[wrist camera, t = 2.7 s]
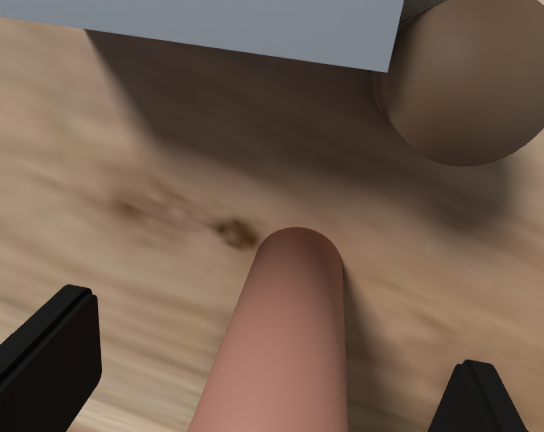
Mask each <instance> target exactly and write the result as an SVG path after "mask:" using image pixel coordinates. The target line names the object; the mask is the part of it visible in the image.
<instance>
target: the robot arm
mask: <svg viewBox="0 0 544 432" xmlns="http://www.w3.org/2000/svg"><path fill="white" fill-rule="evenodd" d="M101 374H102V362H101V347H100V331H99V316H98V300H97V296H96V295H92V291H91V289H89V288H86V287H80V286H75V285H70V284H68V285H65V286H64V287H63V288H62V289H60V290H59V291H58V292H57V293H56V294H55V295H54V296H53V297H52V298H51V299H50V300H49V301H48V302H46V303H45V304H44V305H43V306H42V307H41V308H40V309H39V310H38V311H37V312H36V313H35V314H33V315H32V316H31V317H30V318H29V319H28V320H27V321H26V322H25V323H24V324H23V325H22V326H20V327H19V328H18V329H17V330H16V331H15V332H14V333H13V334H11V335H10V336H9V337H8V338H7V339H6V340H5V341H4V342H3V343H2V344H0V432H66V431H67V429H68V428H69V426H70V425H71V423H72V422H73V420H74V419H75V417H76V416H77V414H78V413H79V411H80V410H81V409H82V407H83V406H84V404H85V403H86V401H87V400H88V398H89V397H90V395H91V394H92V392H93V391H94V389H95V388H96V386H97V385H98V383H99V381H100V378H101ZM428 432H529V431H527V430H526V428H525V426H524V424H523V422H522V420H521V418H520V416H519V414H518V412H517V410H516V408H515V406H514V404H513V402H512V400H511V398H510V396H509V394H508V392H507V391H506V389H505V387H504V385H503V383H502V381H501V379H500V377H499V375H498V373H497V371H496V369H495V368H494V366H493V365H492V364H489V363H484V362H479V361H474V360H465V361H464V362H463V364H457V365H456V366H455V368H454V370H453V373H452V375H451V378H450V380H449V382H448V385H447V387H446V389H445V392H444V394H443V397H442V399H441V401H440V404H439V406H438V408H437V411H436V413H435V416H434V418H433V420H432V423H431V425H430V427H429V430H428Z"/></svg>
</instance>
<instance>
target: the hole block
mask: <svg viewBox="0 0 544 432" xmlns="http://www.w3.org/2000/svg"><path fill="white" fill-rule="evenodd" d="M403 2H404V0H0V17H6V18H13V19H20V20H27V21H34V22H40V23H47V24H54V25H61V26H68V27H75V28H82V29H89V30H96V31H103V32H110V33H116V34H123V35H130V36H137V37H144V38H151V39H158V40H165V41H172V42H179V43H186V44H193V45H199V46H206V47H213V48H220V49H227V50H234V51H241V52H248V53H255V54H262V55H269V56H276V57H282V58H289V59H296V60H303V61H310V62H317V63H324V64H331V65H338V66H345V67H352V68H359V69H365V70H372V71H379V72H386V73H387V72H388V68H389V63H390V59H391V55H392V50H393V46H394V42H395V37H396V33H397V29H398V24H399V20H400V16H401V11H402V7H403Z"/></svg>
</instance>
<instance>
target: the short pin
mask: <svg viewBox="0 0 544 432" xmlns="http://www.w3.org/2000/svg"><path fill="white" fill-rule="evenodd" d="M370 89H371V93H372V96H373V99H374V101H375V103H376V105H377V107H378V108H379V109H380V111H381V112H382V113H383V115H384V116H385V117H386V118H387V119H388V121H389V122H390V123H391V124H392V125H393V127H394V128H395V129H396V130H397V131H398V133H399V134H400V135H401V136H402V138H403V139H404V140H405V141H406V142H407V143H408V144H409V145H410V146H411V147H412V148H413V149H414V150H415V151H417V152H418V153H420V154H421V155H423V156H425V157H426V158H428V159H430V160H433V161H436V162H438V163H442V164H446V165H452V166H475V165H482V164H486V163H490V162H493V161H496V160H499V159H501V158H504V157H506V156H508V155H510V154H512V153H514V152H515V151H517V150H518V149H520V148H521V147H523V146H524V145H526V144H527V143H528V142H529V141H531V140H532V139H533V138H534V137H535V136H536V135H537V134H538V133H539V132H540V131H541V130H542V129H543V128H544V5H543V4H541V3H540V2H539V1H537V0H447V1H445V2H443V3H441V4H439V5H437V6H434V7H432V8H430V9H428V10H426V11H424V12H422V13H420V14H418V15H415V16H413V17H411V18H409V19H407V20H405V21H403V22H402V23H400V24H399V25H398V29H397V33H396V37H395V42H394V46H393V50H392V55H391V59H390V63H389V68H388V72H387V73H386V72H379V71H372V70H370Z"/></svg>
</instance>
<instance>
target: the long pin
mask: <svg viewBox="0 0 544 432" xmlns="http://www.w3.org/2000/svg"><path fill="white" fill-rule="evenodd" d="M188 432H349V419H348V394H347V370H346V346H345V322H344V298H343V274H342V261H341V257H340V254H339V252H338V250H337V249H336V247H335V246H334V244H333V243H332V242H331V241H330V240H329V239H328V238H327V237H325V236H324V235H322V234H320V233H318V232H316V231H314V230H311V229H307V228H301V227H291V228H285V229H282V230H279V231H276V232H275V233H273V234H271V235H270V236H268V237H267V238H266V239H265V240H264V241H263V242H262V244H261V245H260V247H259V249H258V251H257V253H256V256H255V258H254V261H253V264H252V266H251V269H250V271H249V274H248V277H247V279H246V282H245V284H244V287H243V290H242V292H241V295H240V297H239V300H238V302H237V305H236V308H235V310H234V313H233V315H232V318H231V321H230V323H229V326H228V328H227V331H226V333H225V336H224V339H223V341H222V344H221V346H220V349H219V352H218V354H217V357H216V359H215V362H214V364H213V367H212V370H211V372H210V375H209V377H208V380H207V383H206V385H205V388H204V390H203V393H202V396H201V398H200V401H199V403H198V406H197V408H196V411H195V414H194V416H193V419H192V421H191V424H190V427H189V429H188Z"/></svg>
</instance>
